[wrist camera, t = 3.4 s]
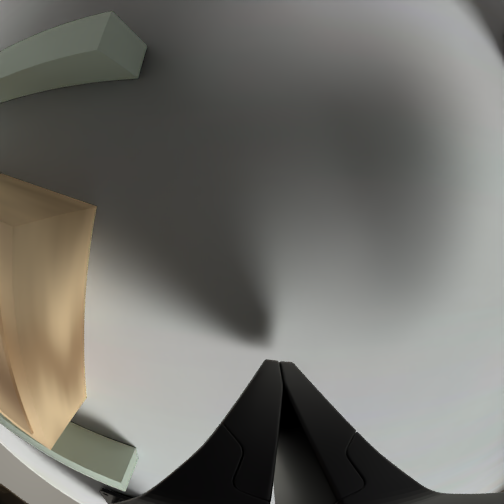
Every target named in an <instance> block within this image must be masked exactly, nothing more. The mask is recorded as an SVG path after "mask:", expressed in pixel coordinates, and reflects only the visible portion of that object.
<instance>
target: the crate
mask: <svg viewBox="0 0 504 504" xmlns="http://www.w3.org/2000/svg"><path fill="white" fill-rule="evenodd" d="M96 209H97V206H94V205H91V204H89V203H86V202H83V201H80V200H77V199H74V198H71V197H68V196H65V195H62V194H59V193H56V192H54V191H51V190H48V189H45V188H42V187H39V186H36V185H33V184H30V183H28V182H25V181H22V180H19V179H16V178H13V177H10V176H8V175H5V174H2V173H0V413H1V414H2V415H4V416H5V417H6V418H7V419H8V420H10V421H11V422H12V423H13V424H15V425H16V426H17V427H19V428H20V429H21V430H23V431H24V432H25V433H27V434H28V435H29V436H31V437H32V438H33V439H35V440H36V441H38V442H39V443H41V444H42V445H44V446H45V447H47V448H48V449H50V450H51V449H52V447H53V446H54V444H55V443H56V441H57V440H58V438H59V437H60V435H61V434H62V432H63V431H64V429H65V428H66V426H67V425H68V424H69V422H70V421H71V419H72V418H73V416H74V415H75V413H76V412H77V411H78V409H79V408H80V406H81V405H82V403H83V402H84V401H85V399H86V398H87V396H86V384H85V366H84V312H85V293H86V280H87V270H88V261H89V252H90V245H91V238H92V231H93V225H94V219H95V214H96Z"/></svg>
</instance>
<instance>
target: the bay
mask: <svg viewBox="0 0 504 504" xmlns="http://www.w3.org/2000/svg"><path fill="white" fill-rule="evenodd" d="M146 49H147V45H146V44H145V43H144V42H143V41H142V40H141V39H140V38H139V37H138V36H137V35H136V34H135V33H134V32H133V31H132V30H131V29H130V28H129V27H128V26H127V25H126V24H125V23H124V22H123V21H122V20H121V19H120V18H119V17H118V16H117V15H116V14H115V13H114V12H113V11H109V12H104V13H100V14H96V15H92V16H89V17H85V18H81V19H78V20H75V21H72V22H68V23H65V24H62V25H59V26H57V27H54V28H51V29H48V30H46V31H43V32H41V33H38V34H36V35H33V36H31V37H29V38H27V39H24V40H22V41H20V42H18V43H16V44H14V45H12V46H10V47H8V48H6V49H4V50H2V51H0V103H2V102H5V101H8V100H11V99H15V98H18V97H22V96H26V95H30V94H34V93H38V92H42V91H47V90H52V89H57V88H62V87H67V86H73V85H79V84H86V83H94V82H102V81H112V80H124V79H138V78H139V74H140V70H141V66H142V63H143V59H144V56H145V52H146ZM0 423H1V424H2V425H3V426H5V427H6V428H7V429H9V430H10V431H11V432H13V433H14V434H15V435H17V436H18V437H20V438H21V439H23V440H24V441H26V442H27V443H29V444H30V445H32V446H33V447H35V448H36V449H38V450H40V451H41V452H43V453H44V454H46V455H48V456H50V457H51V458H53V459H55V460H57V461H58V462H60V463H62V464H64V465H66V466H68V467H70V468H71V469H73V470H75V471H77V472H80V473H82V474H84V475H86V476H88V477H90V478H92V479H95V480H97V481H99V482H102V483H104V484H106V485H109V486H111V487H114V488H116V489H119V490H122V491H126V489H127V486H128V484H129V481H130V478H131V476H132V473H133V471H134V468H135V466H136V464H137V461H138V455H137V451H136V448H134V447H131V446H128V445H126V444H123V443H120V442H117V441H114V440H112V439H109V438H107V437H104V436H102V435H99V434H97V433H94V432H92V431H90V430H87V429H85V428H83V427H81V426H79V425H76V424H74V423H72V422H69V424H68V425H67V426H66V428H65V429H64V431H63V432H62V434H61V435H60V437H59V438H58V440H57V441H56V443H55V444H54V446H53V447H52V449H51V450H50V449H48V448H47V447H45V446H44V445H42V444H41V443H39V442H38V441H36V440H35V439H33V438H32V437H31V436H29V435H28V434H27V433H25V432H24V431H23V430H21V429H20V428H19V427H17V426H16V425H15V424H13V423H12V422H11V421H10V420H8V419H7V418H6V417H5V416H4V415H2V414H1V413H0Z"/></svg>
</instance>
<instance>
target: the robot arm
mask: <svg viewBox="0 0 504 504" xmlns="http://www.w3.org/2000/svg"><path fill="white" fill-rule="evenodd" d="M355 432H356V430H355V429H354V428H353V427H352V426H351V425H350V424H349V423H348V422H347V421H346V420H345V418H344V417H343V416H342V415H341V414H340V413H339V412H338V411H337V410H336V409H335V408H334V407H333V406H332V405H331V404H330V403H329V402H328V400H327V399H326V398H325V397H324V396H323V395H322V394H321V393H320V392H319V391H318V390H317V389H316V387H315V386H314V385H313V384H312V383H311V382H310V381H309V380H308V379H307V378H306V376H305V375H304V374H303V373H302V372H301V371H300V370H299V369H298V368H297V366H296V365H295V364H294V363H292V362H284V361H281V362H278V361H275V360H268V359H266V360H265V361H264V362H263V363H262V365H261V366H260V368H259V369H258V371H257V372H256V374H255V375H254V377H253V378H252V380H251V381H250V383H249V384H248V386H247V387H246V388H245V390H244V391H243V393H242V394H241V396H240V397H239V398H238V400H237V401H236V403H235V404H234V405H233V407H232V408H231V410H230V411H229V412H228V414H227V415H226V417H225V418H224V419H223V421H222V422H221V424H219V426H218V427H217V428H216V430H215V431H214V432H213V434H212V435H211V436H210V437H209V438H208V440H207V441H206V442H205V443H204V444H203V445H202V446H201V447H200V448H199V449H198V450H197V451H196V452H195V453H194V454H193V455H192V456H191V457H190V458H189V459H188V460H186V461H185V462H184V463H183V464H182V465H181V466H179V467H178V468H177V469H176V470H175V471H174V472H172V473H171V474H170V475H169V476H167V477H166V478H165V479H164V480H162V481H161V482H160V483H159V484H157V485H156V486H155V487H153V488H152V489H150V490H149V491H147V492H146V493H144V494H142V495H140V496H138V497H135V498H129V497H126V496H124V495H121V494H118V493H116V492H113V491H110V490H108V489H106V488H101V489H100V493H101V494H102V496H103V497H104V499H105V500H106V502H107V503H108V504H270V502H271V496H272V489H273V481H274V495H275V504H504V492H500V493H486V494H446V493H439V492H435V491H432V490H430V489H428V488H425V487H424V486H422V485H421V484H419V483H418V482H416V481H415V480H414V479H412V478H411V477H410V476H408V475H407V474H406V473H404V472H403V471H402V470H400V469H399V468H398V467H396V466H395V465H394V464H392V463H391V462H390V461H389V460H387V459H386V458H385V457H384V456H382V455H381V454H380V453H379V452H378V451H377V450H376V449H374V448H373V447H372V446H371V445H370V444H369V443H368V442H367V441H366V440H365V439H364V438H363V437H362V436H361V435H360V434H359V433H358V432H356V433H355ZM0 504H28V503H26V502H25V501H24V500H22V499H21V498H19V497H18V496H17V495H15V494H14V493H13V492H11V491H10V490H9V489H7V488H6V487H5V486H3V485H2V484H0Z"/></svg>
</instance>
